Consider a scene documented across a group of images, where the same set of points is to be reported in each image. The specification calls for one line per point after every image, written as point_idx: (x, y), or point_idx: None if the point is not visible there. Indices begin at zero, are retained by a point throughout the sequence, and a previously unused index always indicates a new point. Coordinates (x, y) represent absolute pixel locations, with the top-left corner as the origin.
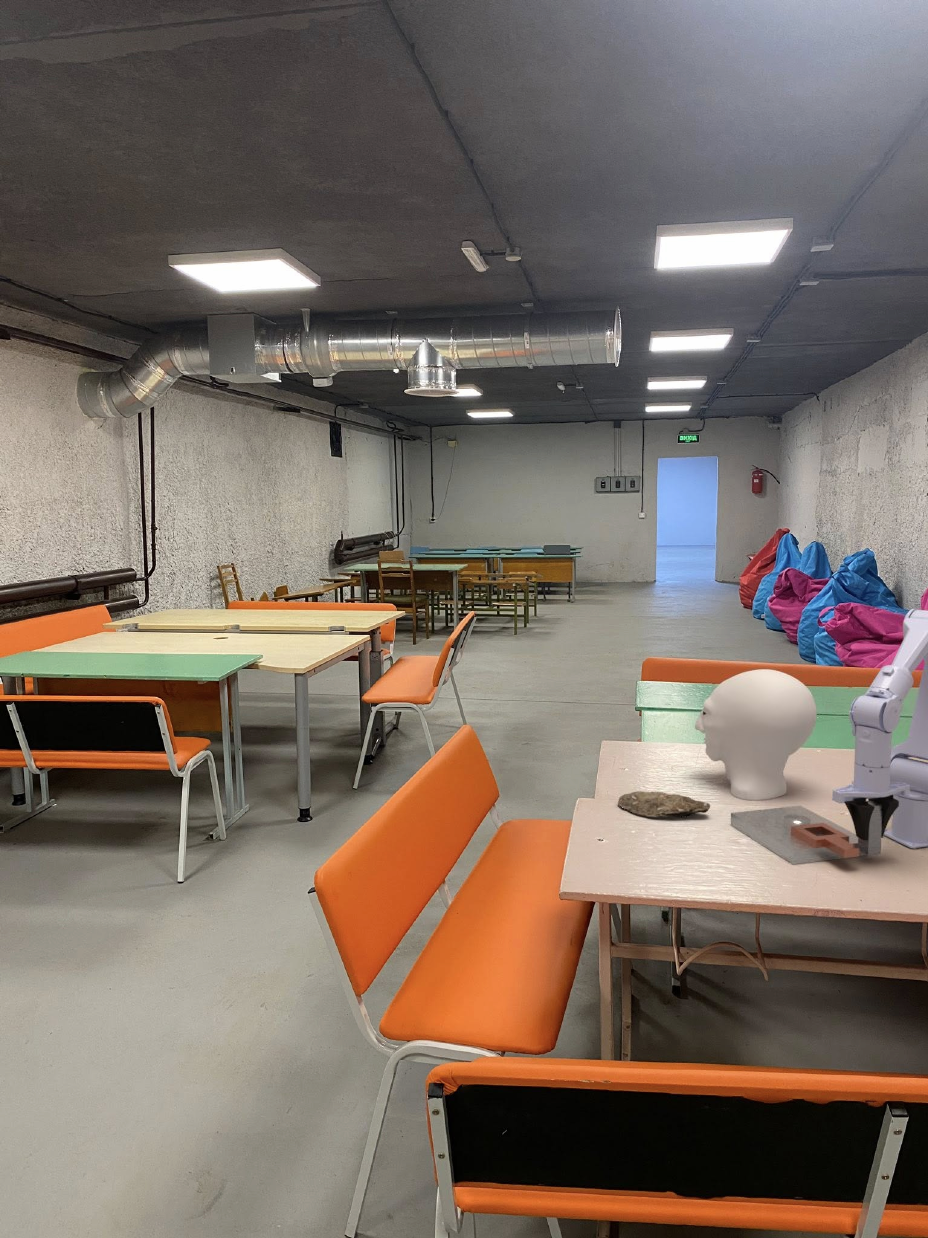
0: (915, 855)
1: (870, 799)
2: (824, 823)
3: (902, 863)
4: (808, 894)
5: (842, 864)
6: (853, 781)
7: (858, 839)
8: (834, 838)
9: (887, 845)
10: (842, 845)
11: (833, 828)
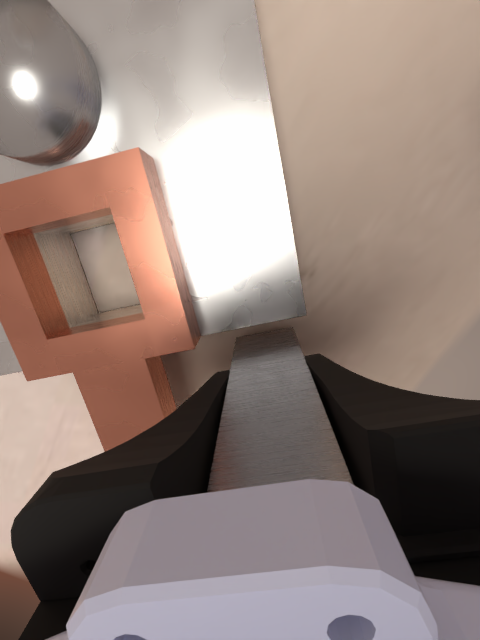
0: (466, 313)
1: (365, 462)
2: (139, 160)
3: (369, 373)
4: (9, 522)
5: (165, 368)
6: (113, 636)
7: (233, 357)
8: (115, 369)
9: (430, 208)
10: (121, 439)
11: (160, 242)
